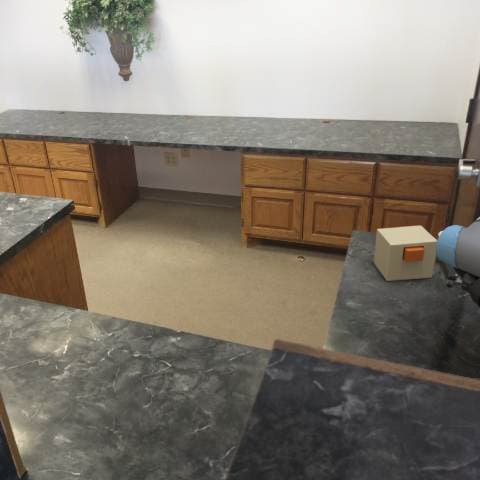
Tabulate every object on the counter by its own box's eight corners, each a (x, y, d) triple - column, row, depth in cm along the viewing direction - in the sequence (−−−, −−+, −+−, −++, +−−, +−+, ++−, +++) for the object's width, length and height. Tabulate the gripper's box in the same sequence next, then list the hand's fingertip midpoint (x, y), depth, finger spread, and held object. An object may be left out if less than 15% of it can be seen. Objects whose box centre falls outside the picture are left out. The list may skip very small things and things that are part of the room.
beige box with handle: (416, 259, 146) (420, 225, 141) (432, 277, 137) (437, 241, 132) (373, 263, 147) (376, 228, 142) (387, 281, 138) (390, 245, 133)
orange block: (419, 256, 135) (421, 246, 134) (423, 260, 133) (424, 249, 132) (402, 258, 135) (404, 247, 134) (406, 261, 134) (407, 251, 132)
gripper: (462, 317, 99) (410, 260, 121) (531, 312, 99) (467, 255, 120) (468, 284, 96) (414, 231, 117) (540, 279, 95) (472, 226, 117)
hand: (441, 243), depth 118 cm, fingers closed
